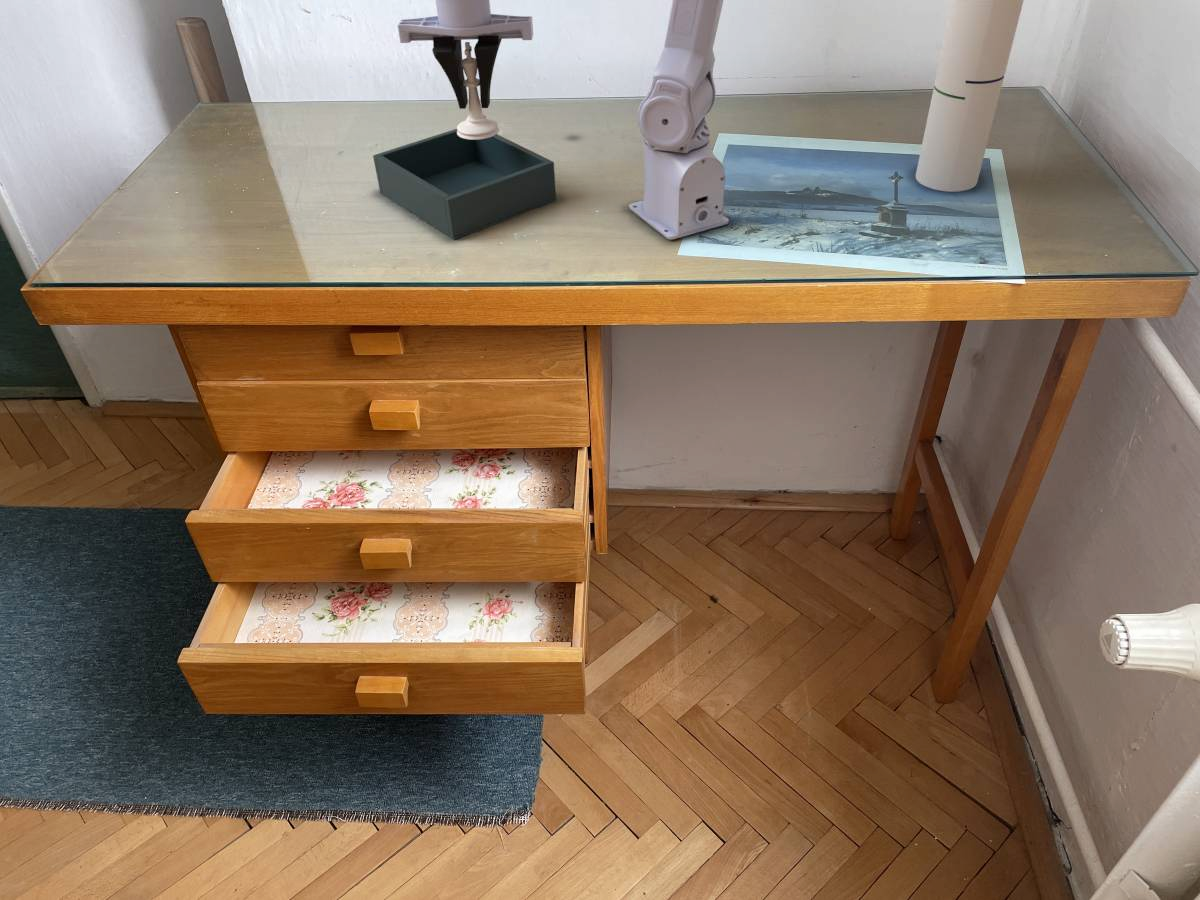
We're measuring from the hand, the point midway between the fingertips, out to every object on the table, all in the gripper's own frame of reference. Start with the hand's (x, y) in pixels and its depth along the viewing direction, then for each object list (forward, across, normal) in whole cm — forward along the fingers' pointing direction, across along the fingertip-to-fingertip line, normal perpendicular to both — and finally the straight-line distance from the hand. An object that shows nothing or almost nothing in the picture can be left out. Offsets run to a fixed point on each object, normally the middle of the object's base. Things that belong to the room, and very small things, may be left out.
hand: (475, 105), depth 105 cm
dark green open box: (+10, +2, +2) cm, 11 cm away
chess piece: (+3, 0, 0) cm, 3 cm away
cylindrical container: (+11, -56, -1) cm, 57 cm away
